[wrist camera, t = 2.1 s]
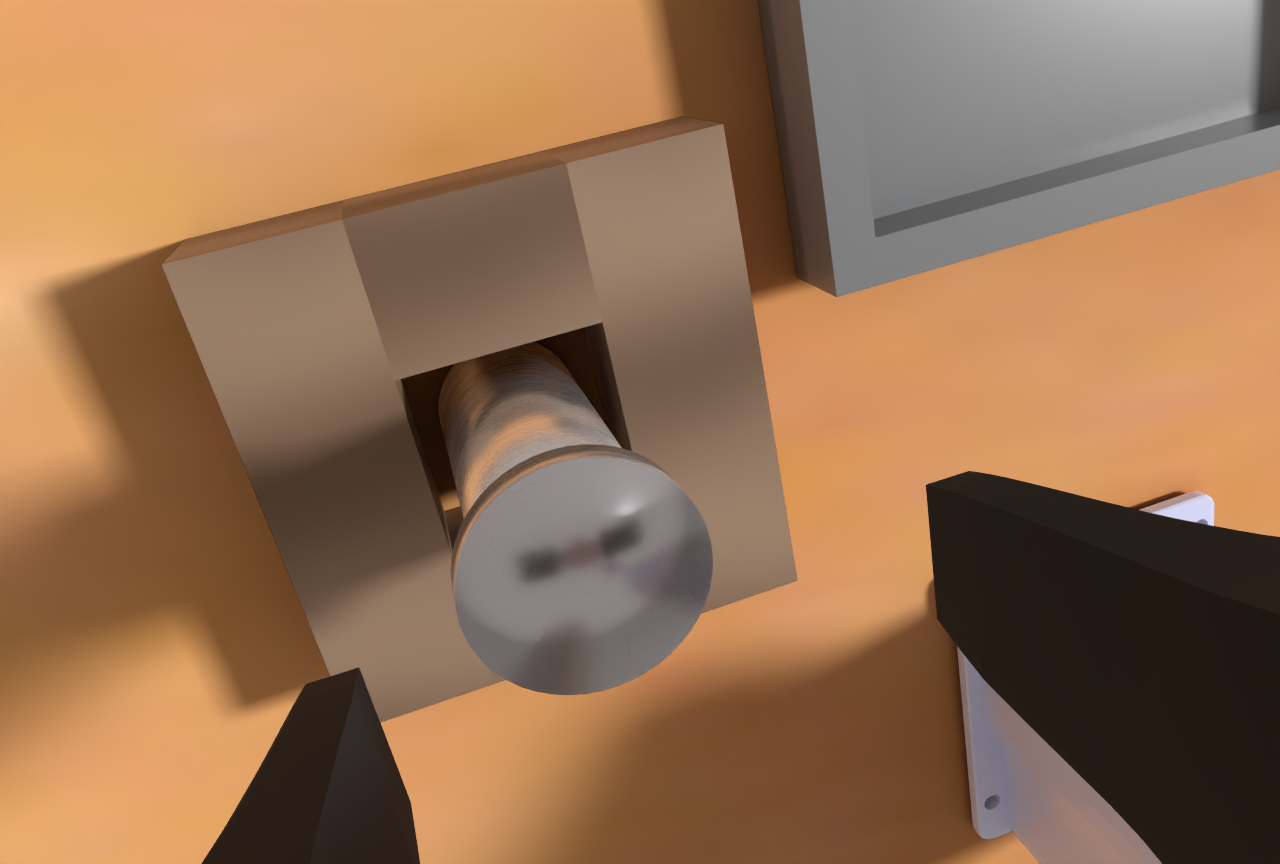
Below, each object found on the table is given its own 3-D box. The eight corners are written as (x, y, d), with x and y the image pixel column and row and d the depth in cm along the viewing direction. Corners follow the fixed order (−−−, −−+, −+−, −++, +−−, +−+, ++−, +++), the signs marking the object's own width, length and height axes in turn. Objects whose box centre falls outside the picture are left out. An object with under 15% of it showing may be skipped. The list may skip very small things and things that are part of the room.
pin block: (755, 531, 24) (797, 580, 22) (352, 664, 22) (352, 731, 20) (681, 116, 20) (723, 123, 18) (185, 239, 18) (161, 265, 16)
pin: (609, 456, 22) (732, 646, 15) (447, 506, 22) (494, 729, 15) (571, 299, 21) (687, 426, 14) (396, 347, 20) (420, 508, 13)
